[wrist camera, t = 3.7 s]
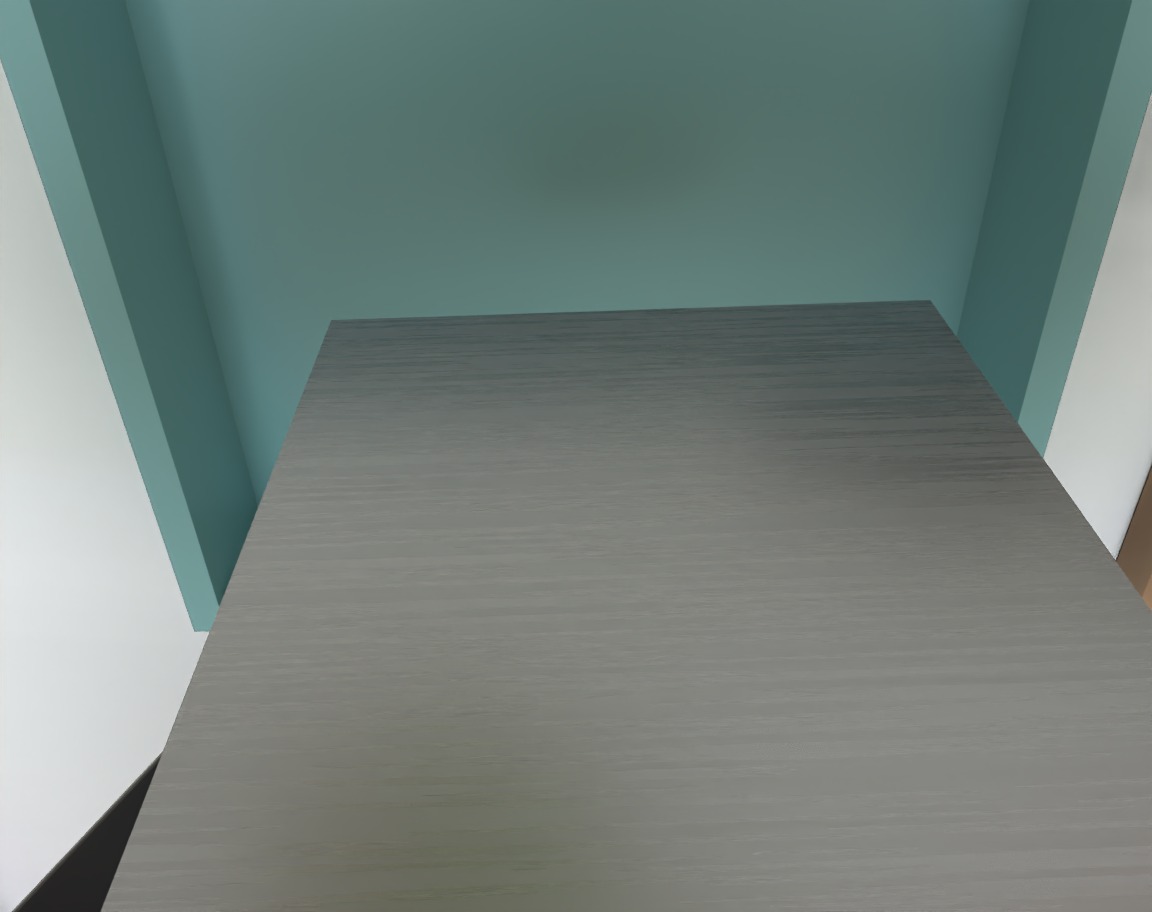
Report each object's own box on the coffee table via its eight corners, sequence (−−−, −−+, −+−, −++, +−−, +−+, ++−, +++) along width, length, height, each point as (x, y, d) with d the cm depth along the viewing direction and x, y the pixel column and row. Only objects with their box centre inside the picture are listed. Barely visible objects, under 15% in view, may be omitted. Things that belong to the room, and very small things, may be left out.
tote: (941, 495, 22) (1000, 603, 19) (240, 518, 22) (194, 631, 19) (1156, -439, 13) (1325, -496, 10) (-16, -405, 13) (-172, -449, 10)
